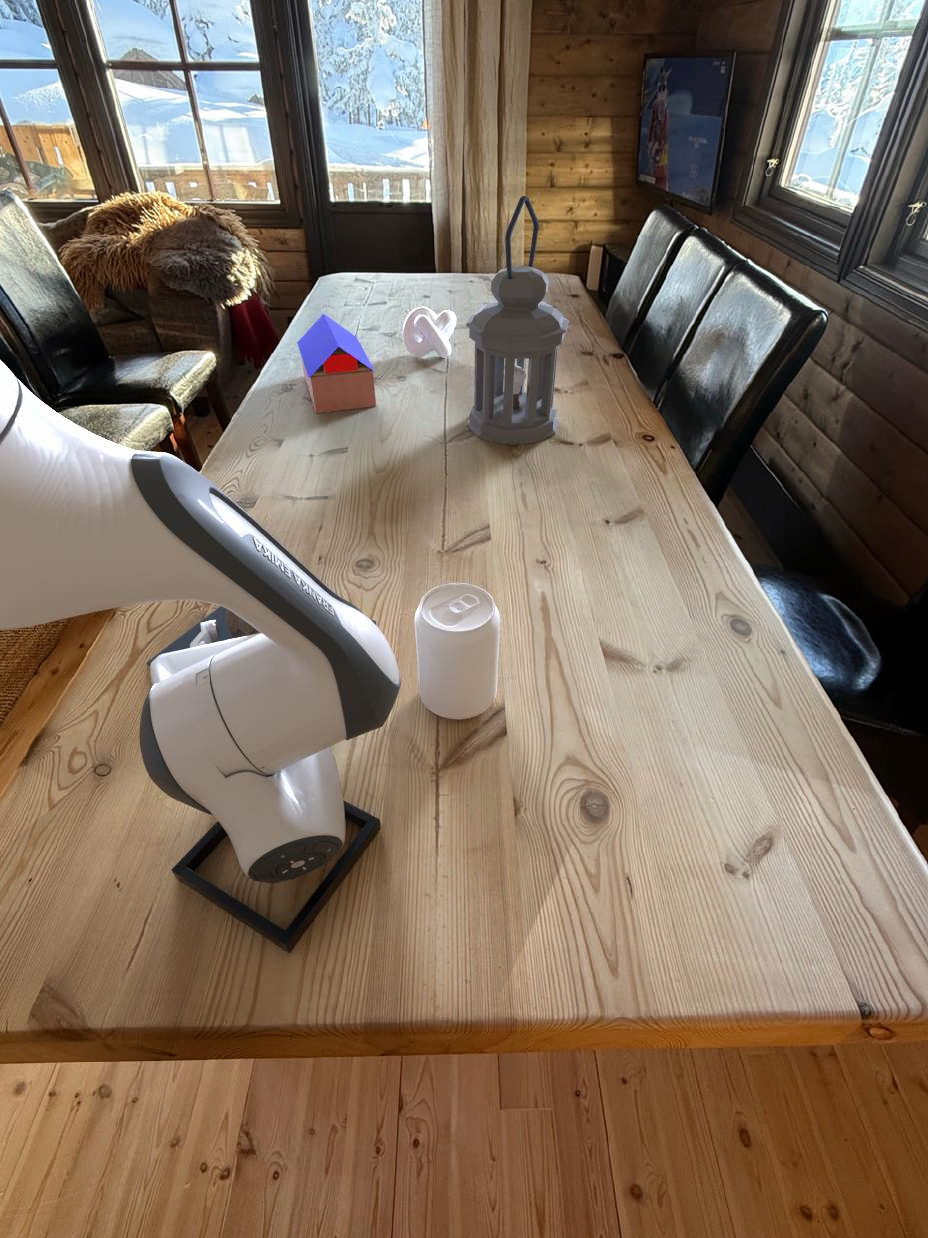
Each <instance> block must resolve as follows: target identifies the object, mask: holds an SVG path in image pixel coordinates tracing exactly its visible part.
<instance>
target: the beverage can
mask: <svg viewBox="0 0 928 1238" xmlns="http://www.w3.org/2000/svg"><path fill="white" fill-rule="evenodd" d="M500 631H501V614H500V612H499V609H498V607H497V605H496V602H495V600H494V598H493V597H492V595H491V594H490V593H489V592H488V591H487V590H485V589H483V588H481V587H479V586H477V585H474V584H471V583H464V582H451V583H445V584H441V585H438V586H436V587H433V588H432V589H430V590H429V591H427V592H426V593H425V594H424V595H423V596H422V597H421V599H420V601H419V604H418V607H417V608H416V611H415V614H414V634H415V647H416V661H417V662H416V664H417V674H418V675H417V676H418V692H419V698H420V700H421V702H422V703H423V705H424V706H425V707H426V708H427V710H429V711H430V712H432V713H433V714H435V715H436V716H438V717H442V718H443V719H450V720H466V719H471V718H474V717H477V716H480V715H481V714H483V713H484V712H486V711H487V710H488V709H490V708H491V706H492V705H493V704H494V702H495V700H496V698H497V694H498V678H499V677H498V675H499V657H500V655H499V654H500V634H501V632H500Z"/></svg>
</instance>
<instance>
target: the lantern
mask: <svg viewBox="0 0 928 1238" xmlns="http://www.w3.org/2000/svg"><path fill="white" fill-rule="evenodd" d="M524 205H525V206H526V210H527V211H528V214H529V216H530V219H531V221H532V227H533V229H532V237H531V243H530V252H529V257H528V265H527V266H526V265H514V266H513V262H512V241H511V240H512V235H513V231H514V229H515V227H516V224H517V221H518V219H519V216H520V214H521V211H522V210H523V206H524ZM539 229H540V224H539V219H538V217H537V214H536V212H535V210H534V208H533V205H532V203H531V200H530V198H529V196H526V195H522V196H520V198H519V200H518V202H517V204H516V207H515V208H514V212H513V214H512V216H511V218H510V221H509V223H508V226H507V228H506V231H505V236H504V244H505V246H504V247H505V259H506V261H505V263H506V268H502V269H499V270H498V272H496V274H495V275H494V276H493V279H492V280H491V281H490V292H491V294H492V296H493V298H494V299H495V301H491V302H487V303H485V304H483V305H482V306H480V307H479V308H478V310H477V311H476V312H475V313H473V314H471V316H470V317H469V319H468V320H467V322H465V323H466V324H465V325H466V328H468V338H470V339H471V340H472V341H474V381H473V382H474V383H473V384H474V388H473V389H474V392H473V395H474V397H473V400H474V401H473V406H472V408H471V409H470V412H469V418H468V420H467V422H466V427H467V428H468V429H469V430H470V431H471V432H472V433H473V434H474V435H475V436H476V437H477V438H478V439H481V440H486V441H490V442H493V443H497V444H502V445H504V446H507V445H523V444H524V445H526V444H527V445H528V444H529V445H530V444H537V443H540V441H543V440H545V439H548V438H550V437H552V436H555V435H556V434H557V430H558V426H559V422H560V420H559V419H558V418H557V411H558V410H557V409H556V408H555V406H554V397H555V386H556V373H557V364H558V353H559V352H558V351H559V346H560V345H562V344H563V342H564V338H565V335H566V333H567V330H568V326H569V323H570V320H569V319H567V318H566V317H564V314H563V313H561V311H559V310H558V309H557V308H555V307H554V306H552V305H550V304H549V303H547V302H545V301H543V300H544V298H545V296H546V295H547V292H548V290H549V281H550V280H549V278H548V277H547V275H546V274H545V272H544V271H542V270H540V269H537V268H535V267H534V261H535V257H536V249H537V243H538V236H539ZM527 359H528V364H527V365H528V366H527V374H526V363H527V362H526V361H527ZM526 378H527V379H526ZM525 380H527V381H525ZM525 382H526V392H525Z"/></svg>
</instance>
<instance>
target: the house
mask: <svg viewBox="0 0 928 1238" xmlns="http://www.w3.org/2000/svg"><path fill="white" fill-rule="evenodd" d="M296 343H297V347H298V349H299V352H300V358H301V363H302V371H303V375H304V377H303V378H304V380H305V383H306V386H307V389H308V392H309V396H310V398H311V402H312V405H313V408H314V412H315V414H322V413H330V412H338V411H346V410H355V409H363V408H371V407H376V406H377V400H376V391H375V390H376V389H375V377H374V372H375V371H376V370H375V369H374V367H373V365H372V363H371V361H370V359H369V357H368V356H367V354H366V352H365V349H364V348H363V346H362V344H361V343H360V341H359V339H358V337H357V336H356V335H355V334H353V333H352V332H351V331H349V330H348V329H346V328H345V327H343V326H342V325H340V324H339V323H338V322H336V321H335V320H334V319H332V318H331V317H329V316H328V315H327V314H325V313H322V315H320V316H319V318H318V319H317V320H316V321H315V322H314V323H313V324H312V325H311V326H310V328H309V329H308V330H307V331H306V332H305V333H304V334H303V335H302V336H301V337H300V339H299V340H298V341H297V342H296Z"/></svg>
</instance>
